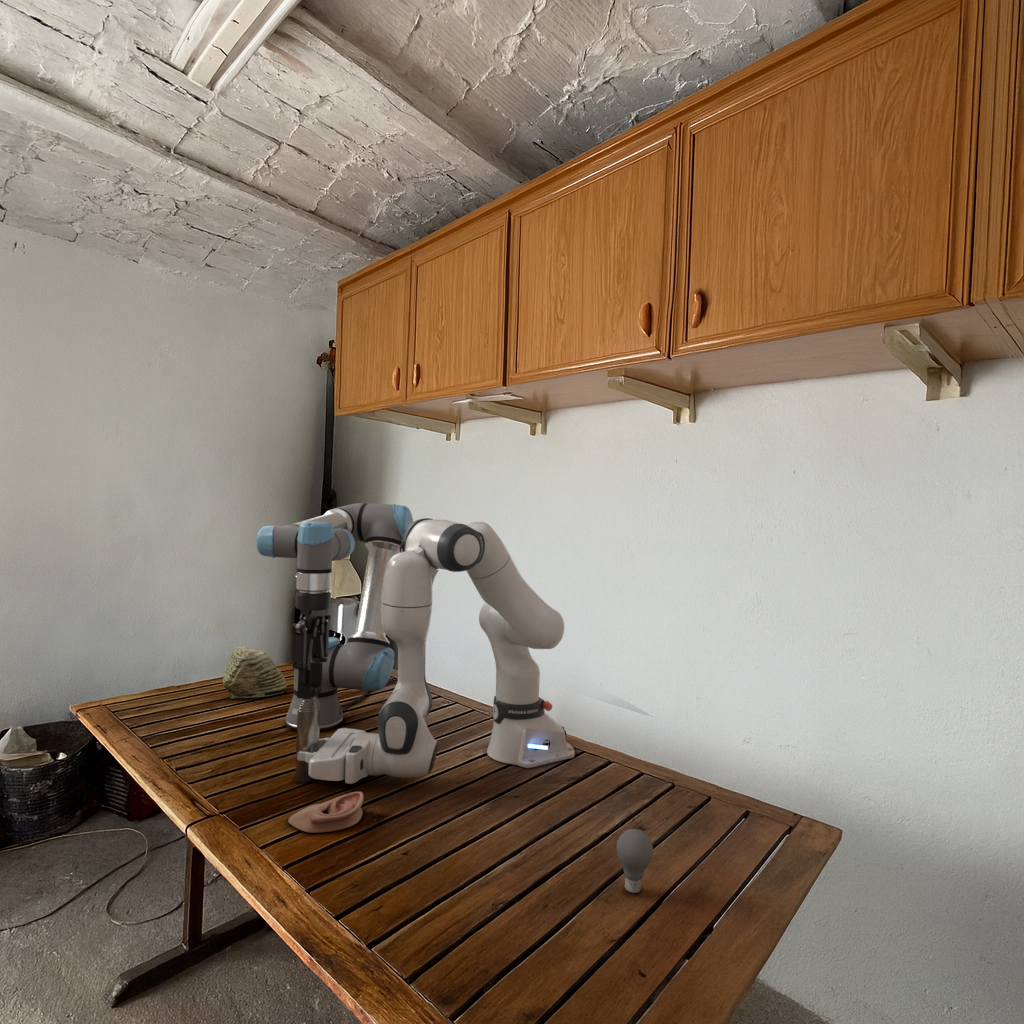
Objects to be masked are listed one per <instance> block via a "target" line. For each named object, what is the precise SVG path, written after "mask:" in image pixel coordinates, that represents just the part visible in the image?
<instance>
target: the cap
mask: <svg viewBox="0 0 1024 1024" xmlns="http://www.w3.org/2000/svg"><path fill="white" fill-rule="evenodd" d="M320 687H321V686H320V685H319V684H311V697H316V696H319V695H320V693H321V688H320Z"/></svg>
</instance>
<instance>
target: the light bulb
mask: <svg viewBox="0 0 1024 1024" xmlns="http://www.w3.org/2000/svg"><path fill="white" fill-rule="evenodd" d="M615 849H616V854H617V857H618V859H619V861H620V863H621V865H622V867H623V873H624V874H623V875H624V876H625V878H624V888H625V890H627V891H628V892H630V893H634V894H635V893H639V892H640V891H641V889H642V887H641V886H642V879H643V877H644V875H645V871H646V868H647V867H648V866H649V864H650V863H651V861H652V859H653V855H654V847H653V843H652V841H651V838H649V836H648V835H647V834H646V833H645V832H643V831H642V830H641V829H636V828H629V829H627V830H625V831H623V832H622V833H621V834H620V835H619V837H618V839H617V841H616V847H615Z"/></svg>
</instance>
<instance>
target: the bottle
mask: <svg viewBox="0 0 1024 1024" xmlns="http://www.w3.org/2000/svg"><path fill="white" fill-rule="evenodd" d="M320 732H321V731H320V703H319V700H318V698H317V696H316V697H310V699H301V701H300V703H299V706H298V715H297V731H296V740H295V741H296V742H295V744H296V745H295V746H296V747H295V748H296V749H295V771H294V780H295V782H297V783H301V784H308V783H312V782H315V781H316V780H317V779H314V778H312V777H310V776H309V774H308V770H309V763H307V762H306V761H299V760H297V753H298V752H299V751H300V750H308V752H310V753H313V752H318V751H319V750H320V748H319V739H320Z"/></svg>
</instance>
